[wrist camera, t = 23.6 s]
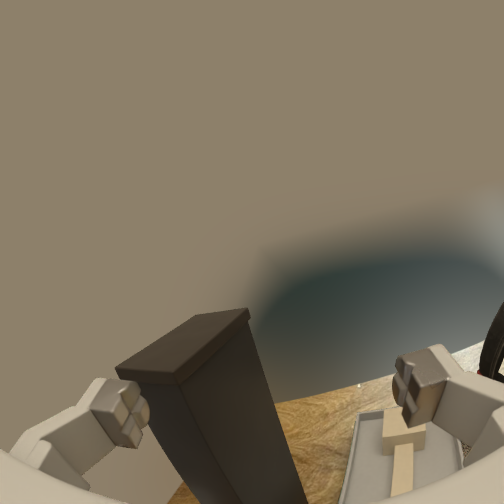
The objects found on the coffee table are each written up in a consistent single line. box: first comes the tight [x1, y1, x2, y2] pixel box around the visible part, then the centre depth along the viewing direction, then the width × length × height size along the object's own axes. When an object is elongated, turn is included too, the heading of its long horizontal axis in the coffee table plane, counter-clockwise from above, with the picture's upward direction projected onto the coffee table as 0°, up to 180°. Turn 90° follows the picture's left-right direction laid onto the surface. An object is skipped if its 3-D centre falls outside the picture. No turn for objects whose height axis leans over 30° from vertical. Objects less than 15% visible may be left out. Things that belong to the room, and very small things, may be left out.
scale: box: [338, 406, 464, 504], centre depth 20 cm, size 14×22×4 cm, turn 157°
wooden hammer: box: [382, 407, 426, 497], centre depth 20 cm, size 5×15×4 cm, turn 156°
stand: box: [115, 308, 308, 504], centre depth 17 cm, size 4×8×26 cm, turn 157°
